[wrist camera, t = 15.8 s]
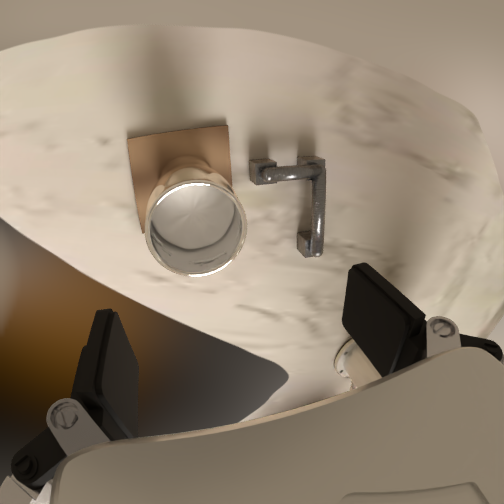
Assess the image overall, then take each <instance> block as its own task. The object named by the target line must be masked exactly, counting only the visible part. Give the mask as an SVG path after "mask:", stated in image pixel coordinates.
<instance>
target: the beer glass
mask: <svg viewBox="0 0 504 504" xmlns="http://www.w3.org/2000/svg"><path fill="white" fill-rule="evenodd" d="M246 234H247V219H246V214H245V211H244V209H243V206H242V204H241V203H240V201H239V199H238V197H237V195H236V193H235V191H234V190H233V188H232V187H231V185H230V184H229V182H228V181H227V180H226V179H225V178H224V177H223V176H222V175H221V174H220V173H218V172H217V171H215V170H214V169H212V168H210V167H209V165H208V164H207V163H206V162H205V161H204V160H202V159H200V158H198V157H195V156H191V155H184V156H179V157H176V158H174V159H173V160H171V161H170V162H169V163H168V164H167V165H166V166H165V167H164V168H163V170H162V172H161V175H160V179H159V180H158V181H157V182H156V184H155V185H154V187H153V189H152V191H151V193H150V196H149V199H148V203H147V208H146V220H145V238H146V242H147V245H148V248H149V250H150V252H151V254H152V255H153V257H154V258H155V259H156V260H157V261H158V262H159V263H160V264H161V265H162V266H163V267H165V268H166V269H168V270H170V271H171V272H174V273H176V274H179V275H184V276H193V277H195V276H204V275H209V274H212V273H215V272H217V271H219V270H221V269H222V268H224V267H226V266H227V265H228V264H229V263H231V262H232V261H233V260H234V259H235V257H236V256H237V255H238V253H239V252H240V250H241V248H242V246H243V244H244V242H245V238H246Z"/></svg>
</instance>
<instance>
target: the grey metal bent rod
mask: <svg viewBox="0 0 504 504" xmlns="http://www.w3.org/2000/svg"><path fill="white" fill-rule="evenodd" d="M249 169H250V181H252V182H253V183H254V184H255V185H263V184H273V183H277V181H289V180H301V179H305V180H312V218H311V231H305V232H298V233H297V249H298V250H299V252H300V253H301V254H302V255H303V256H304V257H305V258H307V257H313V256H314V257H319V256H321V255H322V253H323V244H324V225H325V201H326V168H325V159H323V158H319V157H316V156H306V157H297V165H294V166H280V167H277V163H276V162H275V161H273V160H271V159H258V160H249Z"/></svg>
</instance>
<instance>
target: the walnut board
mask: <svg viewBox="0 0 504 504" xmlns="http://www.w3.org/2000/svg"><path fill="white" fill-rule="evenodd" d="M127 141H128V150H129V157H130V165H131V172H132V178H133V185H134V191H135V197H136V202H137V208H138V213H139V219H140V224H141V229H142V234H143V233H145V220H146V208H147V203H148V199H149V196H150V193H151V191H152V189H153V187H154V185H155V184H156V182H157V181H158V180H159V179H160V175H161V172H162V170H163V168H164V167H165V166H166V165H167V164H168V163H169V162H170V161H171V160H173V159H174V158H176V157H179V156H184V155H191V156H195V157H198V158H200V159H202V160H204V161H205V162H206V163H207V164H208V165H209V167H210V168H212V169H214V170H215V171H217V172H218V173H220V174H221V175H222V176H223V177H224V178H225V179H226V180H227V181H228V182H229V184H230V185H231V187H232V176H231V162H230V147H229V132H228V125H225V126H214V127H204V128H195V129H187V130H179V131H172V132H165V133H159V134H153V135H147V136H141V137H136V138H130V139H127Z"/></svg>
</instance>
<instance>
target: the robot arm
mask: <svg viewBox="0 0 504 504" xmlns="http://www.w3.org/2000/svg"><path fill="white" fill-rule="evenodd" d="M425 316H426V315H425V314H424V313H423V312H422V311H421V310H420V309H419V308H418V307H417V306H416V305H414V304H413V303H412V302H411V301H410V300H409V299H408V298H407V297H405V296H404V295H403V294H402V293H401V292H400V291H399V290H398V289H396V288H395V287H394V286H393V285H392V284H391V283H390V282H388V281H387V280H386V279H385V278H384V277H383V276H381V275H380V274H379V273H378V272H377V271H376V270H374V269H373V268H372V267H371V266H370V265H369V264H367V263H360V264H355V265H353V266H352V268H351V269H350V270H349V272H348V280H347V287H346V295H345V302H344V309H343V316H342V324H343V326H344V328H345V329H346V330H347V332H348V333H349V334H350V336H351V337H352V339H351V340H350V341H349V342H347V343H346V344H345V345H344V347H343V348H342V349H341V350H340V352H339V353H338V355H337V357H336V360H335V365H334V366H335V369H336V371H337V373H338V374H339V375H341V376H344V377H350V379H351V382H352V384H351V387H350V391H347V392H345V393H342V394H339V395H336V396H333V397H330V398H327V399H325V400H322V401H318V402H315V403H312V404H309V405H306V406H302V407H299V408H296V409H292V410H289V411H285V412H282V413H278V414H274V415H270V416H266V417H262V418H258V419H254V420H249V421H245V422H240V423H236V424H231V425H226V426H220V427H215V428H209V429H204V430H197V431H190V432H183V433H176V434H168V435H159V436H150V437H140V438H138V375H139V374H138V373H139V366H138V362H137V359H136V357H135V355H134V352H133V350H132V348H131V345H130V343H129V341H128V338H127V336H126V334H125V331H124V328H123V326H122V323H121V321H120V318H119V315H118V313H117V312H113V311H112V309H104V310H97V311H96V314H95V318H94V321H93V324H92V328H91V331H90V335H89V338H88V342H87V345H86V346H84V347H83V349H82V352H81V356H80V359H79V363H78V367H77V371H76V375H75V380H74V384H73V389H72V393H71V398H70V399H69V398H66V399H61V400H59V401H57V402H55V403H54V404H53V405H52V406H51V408H50V409H49V411H48V414H47V423H48V426H49V427H48V428H47V429H45V430H44V431H43V432H42V433H40V434H39V435H38V436H37V437H36V438H34V439H33V440H32V441H30V442H29V443H28V444H27V445H25V446H24V447H23V448H22V449H21V450H19V451H18V452H17V453H16V454H15V455H14V457H13V459H12V463H11V469H12V473H13V475H12V476H11V477H9V476H7V477H6V479H5V480H4V482H3V484H2V485H1V487H0V504H504V355H503V353H502V350H501V348H500V346H499V345H498V344H496V343H495V342H494V341H491V340H488V339H483V338H478V337H473V336H468V335H463V334H459V330H458V327H457V325H456V324H455V323H454V322H453V321H452V320H450V319H448V318H445V317H441V316H436V317H432V318H430V319H429V320H428V321H426V320H424V319H425Z"/></svg>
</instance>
